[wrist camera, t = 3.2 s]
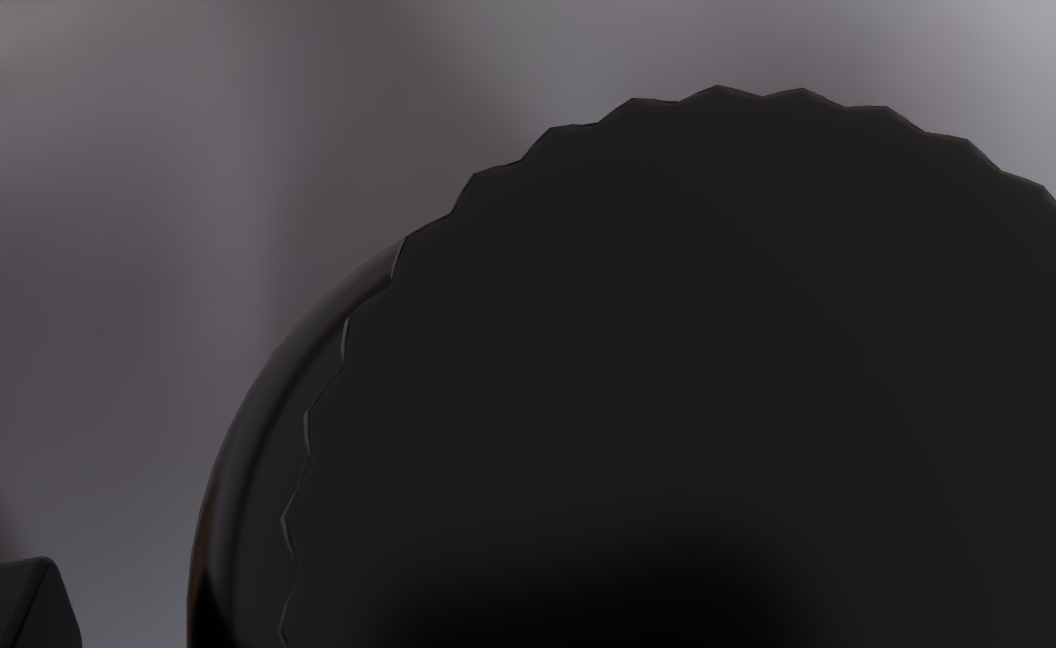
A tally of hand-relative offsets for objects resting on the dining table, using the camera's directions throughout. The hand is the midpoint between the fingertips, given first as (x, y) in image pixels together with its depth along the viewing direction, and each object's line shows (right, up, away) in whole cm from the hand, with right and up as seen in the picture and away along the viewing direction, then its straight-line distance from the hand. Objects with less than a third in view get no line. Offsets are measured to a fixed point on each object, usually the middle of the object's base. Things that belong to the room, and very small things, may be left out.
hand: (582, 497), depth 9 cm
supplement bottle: (-1, -3, +7) cm, 8 cm away
